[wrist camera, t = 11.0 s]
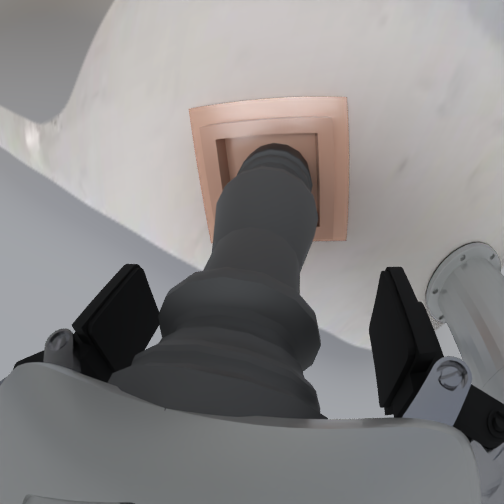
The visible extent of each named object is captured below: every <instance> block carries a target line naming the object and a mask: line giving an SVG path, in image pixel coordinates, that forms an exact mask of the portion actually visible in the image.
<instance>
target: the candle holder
mask: <svg viewBox="0 0 504 504" xmlns="http://www.w3.org/2000/svg"><path fill="white" fill-rule="evenodd" d="M312 186H313V185H312V180H311V176H310V171H309V167H308V163H307V161H306V160H305V159H304V157H303V156H302V155H301V153H300V152H299V151H297V150H296V149H294V148H292V147H290V146H289V145H286V144H279V143H271V144H267V145H263V146H260V147H259V148H257V149H256V150H255V151H253V152H252V153H251V154H250V155H249V156H248V157H247V158H246V160H245V161H244V162H243V164H242V166H241V168H240V170H239V171H238V173H237V176H236V177H235V178H233V179H232V180H231V181H230V182H228V183H227V185H226V186H225V187H224V189H223V191H222V193H221V195H220V197H219V199H218V201H217V203H216V214H215V225H214V236H213V247H212V254H211V256H210V258H209V260H208V262H207V264H206V266H205V268H204V270H203V271H200V272H195V273H193V274H192V275H190V276H189V277H188V278H186V279H185V280H183V281H182V282H181V283H179V284H178V285H176V286H175V287H173V288H172V289H171V290H170V291H169V292H168V294H167V296H166V297H165V300H164V302H163V305H162V307H161V310H160V312H159V315H158V320H159V325H160V330H161V334H162V339H161V341H160V342H159V343H158V344H157V345H155V346H152V347H150V348H148V349H146V350H144V351H142V352H140V353H138V354H137V355H135V357H134V359H133V361H132V364H131V366H129V367H127V368H124V369H122V370H119V371H117V372H114V373H112V375H111V377H110V379H109V381H108V383H109V384H112V385H115V386H117V387H118V388H119V389H120V390H121V391H123V392H125V393H128V394H130V395H132V396H135V397H137V398H140V399H142V400H145V401H147V402H150V403H152V404H155V405H158V406H160V407H163V408H165V410H166V408H167V409H173V410H179V411H185V412H192V413H200V414H209V415H219V416H231V417H246V416H266V417H278V418H295V419H328V418H327V417H325V416H323V415H322V414H320V406H319V402H318V398H317V394H316V391H315V389H314V388H313V386H312V385H311V384H310V383H309V382H308V381H307V380H306V379H305V378H304V375H303V371H304V370H306V369H307V368H308V367H309V366H311V365H312V364H313V362H314V360H315V357H316V355H317V353H318V350H319V348H320V346H321V343H320V335H319V330H318V325H317V320H316V315H315V312H314V311H313V310H312V308H311V307H310V306H309V305H308V304H307V303H306V301H305V300H304V299H303V298H302V297H301V296H300V271H301V269H302V266H303V264H304V261H305V259H306V256H307V254H308V251H309V249H310V246H311V244H312V241H313V239H314V236H315V232H316V227H317V223H318V213H317V209H316V204H315V200H314V196H313V194H312V193H311V191H312ZM165 410H164V411H165ZM121 504H135V503H121Z"/></svg>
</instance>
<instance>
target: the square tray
mask: <svg viewBox="0 0 504 504" xmlns="http://www.w3.org/2000/svg"><path fill="white" fill-rule="evenodd" d="M189 114H190V121H191V128H192V135H193V141H194V148H195V154H196V161H197V167H198V173H199V179H200V185H201V190H202V196H203V202H204V207H205V213H206V218H207V224H208V229H209V234H210V240H211V243H213V236H214V225H215V214H216V203H217V201H218V199H219V197H220V195H221V193H222V191H223V189H224V187H225V186H226V185H227V183H228V182H230V181H231V180H232V179H233V178H235V177H236V176H237V173H238V171H239V170H240V168H241V166H242V164H243V162H244V161H245V160H246V158H247V157H248V156H249V155H250V154H251V153H252V152H253V151H255V150H256V149H257V148H259V147H260V146H263V145H267V144H271V143H279V144H286V145H289V146H290V147H292V148H294V149H296V150H297V151H299V152H300V153H301V155H302V156H303V157H304V159H305V160H306V161H307V163H308V167H309V171H310V176H311V180H312V185H313V186H312V191H311V193H312V194H313V196H314V200H315V204H316V209H317V213H318V223H317V227H316V232H315V236H314V239H313V241H346V237H347V221H348V197H349V132H348V109H347V97H326V96H314V97H282V98H267V99H255V100H245V101H237V102H229V103H221V104H215V105H208V106H202V107H197V108H191V109H189Z"/></svg>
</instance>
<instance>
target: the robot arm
mask: <svg viewBox="0 0 504 504" xmlns="http://www.w3.org/2000/svg"><path fill="white" fill-rule="evenodd" d="M500 272H501V263H500V259H499V256H498V255H497V253H496V252H495V251H494V250H493V248H492V247H490V246H489V245H487V244H484V243H472V244H468V245H465V246H463V247H461V248H459V249H458V250H456V251H455V252H453V253H452V254H451V255H450V256H448V257H447V258H446V259H445V260H444V261H443V262H442V264H441V265H440V266H439V267H438V269H437V270H436V272H435V273H434V275H433V277H432V279H431V280H430V283H429V286H428V288H427V293H426V304H427V308H428V310H429V312H430V314H431V316H432V317H433V318H434V319H435V320H437V321H439V322H442V323H447V324H448V326H449V328H450V331H451V333H452V335H453V337H454V340H455V342H456V344H457V347H458V349H459V351H460V354H461V356H462V359H463V361H462V360H461V359H459V358H456V357H450V356H447V357H444V356H443V353H442V350H441V347H440V345H439V342H438V339H437V337H436V334H435V331H434V329H433V326H432V324H431V321H430V319H429V316H428V314H427V312H426V309H425V307H424V305H423V303H421V302H418V301H417V298H416V296H415V294H414V292H413V289H412V287H411V285H410V283H409V281H408V278H407V276H406V274H405V272H404V270H403V268H402V267H387V268H386V270H385V271H382V272H381V274H380V279H379V285H378V290H377V295H376V299H375V304H374V309H373V313H372V317H371V321H370V326H369V335H370V340H371V346H372V352H373V359H374V365H375V372H376V379H377V387H378V396H379V404H380V407H384V409H385V415H391V414H394V418H365V419H295V418H278V417H266V416H246V417H231V416H219V415H209V414H200V413H192V412H185V411H179V410H173V409H167V408H166V410H165V408H163V407H160V406H158V405H155V404H152V403H150V402H147V401H145V400H142V399H140V398H137V397H135V396H132V395H130V394H128V393H125V392H123V391H121V390H120V389H119V388H118V387H117V386H115V385H112V384H109V383H108V381H109V379H110V377H111V375H112V373H114V372H117V371H119V370H122V369H124V368H127V367H129V366H131V364H132V361H133V359H134V357H135V355H137V354H138V353H140V352H142V351H144V350H145V348H146V346H147V345H148V343H149V341H150V340H151V338H152V336H153V334H154V333H155V331H156V329H157V328H158V326H159V320H158V315H159V311H158V308H157V306H156V303H155V300H154V298H153V295H152V292H151V290H150V287H149V284H148V281H147V278H146V275H145V273H144V270H143V269H142V268H141V267H140V266H139V265H138V264H126V265H124V266H123V267H122V268H121V269H120V271H119V272H118V273H117V274H116V275H115V276H114V277H113V278H112V279H111V280H110V281H109V282H108V284H107V285H106V286H105V287H104V288H103V289H102V290H101V291H100V292H99V294H98V295H97V296H96V297H95V298H94V300H92V302H91V303H90V304H89V305H88V306H87V307H86V309H85V310H84V311H83V312H82V313H81V315H80V316H79V317H78V318H77V319H76V320H75V322H74V323H73V324H72V327H73V328H74V330H75V333H74V334H73V333H72V332H71V331H70V330H69V329H59V330H57V331H55V332H54V333H52V334H51V335H50V336H49V337H48V339H47V341H46V343H45V350H44V351H42V352H39V353H37V354H34V355H32V356H30V357H27V358H25V359H23V360H20V361H18V362H17V363H16V364H15V366H14V369H13V371H12V372H11V373H10V374H9V375H8V376H7V377H6V378H4V379H3V380H2V381H0V504H121V503H135V504H504V276H503V275H502V274H501V273H500ZM471 383H472V384H471ZM164 410H165V411H164Z"/></svg>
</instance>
